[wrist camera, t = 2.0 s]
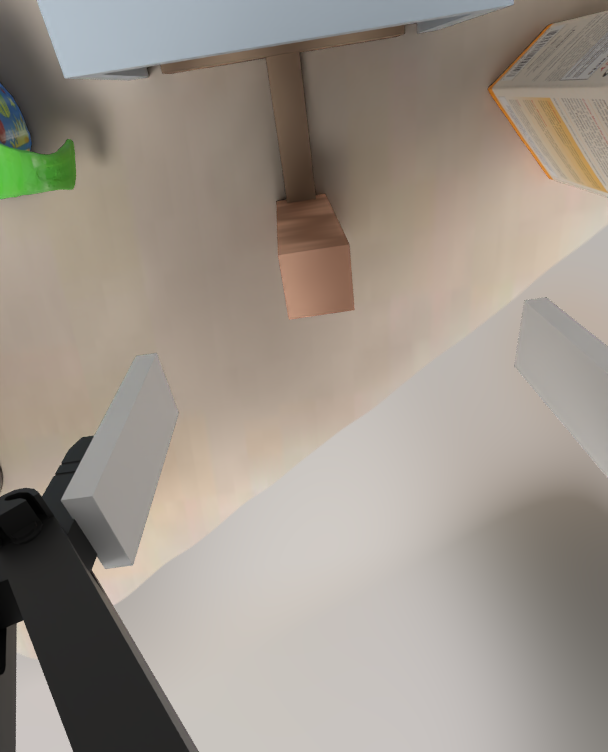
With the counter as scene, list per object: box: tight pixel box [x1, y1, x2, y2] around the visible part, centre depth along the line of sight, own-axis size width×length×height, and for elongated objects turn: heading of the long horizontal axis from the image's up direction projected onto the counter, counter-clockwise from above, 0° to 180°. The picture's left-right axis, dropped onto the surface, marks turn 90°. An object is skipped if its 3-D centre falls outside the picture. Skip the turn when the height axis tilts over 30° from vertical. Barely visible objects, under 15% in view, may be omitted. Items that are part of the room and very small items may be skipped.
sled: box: [160, 25, 405, 320], centre depth 21 cm, size 14×26×12 cm, turn 8°
